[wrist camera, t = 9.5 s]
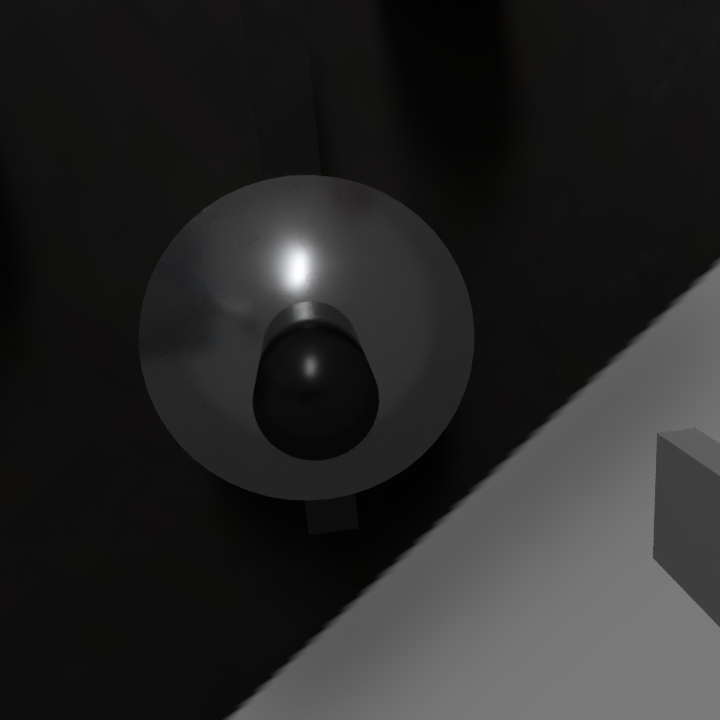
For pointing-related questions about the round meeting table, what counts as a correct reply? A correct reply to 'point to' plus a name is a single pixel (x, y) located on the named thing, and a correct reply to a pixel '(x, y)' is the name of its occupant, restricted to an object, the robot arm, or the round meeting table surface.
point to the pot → (288, 146)
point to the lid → (306, 337)
